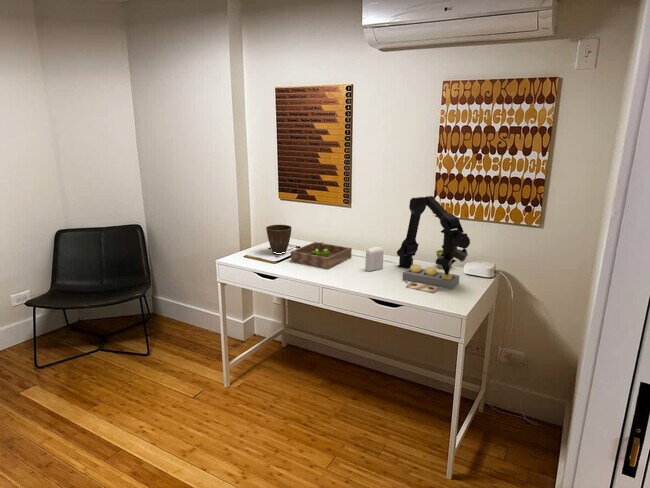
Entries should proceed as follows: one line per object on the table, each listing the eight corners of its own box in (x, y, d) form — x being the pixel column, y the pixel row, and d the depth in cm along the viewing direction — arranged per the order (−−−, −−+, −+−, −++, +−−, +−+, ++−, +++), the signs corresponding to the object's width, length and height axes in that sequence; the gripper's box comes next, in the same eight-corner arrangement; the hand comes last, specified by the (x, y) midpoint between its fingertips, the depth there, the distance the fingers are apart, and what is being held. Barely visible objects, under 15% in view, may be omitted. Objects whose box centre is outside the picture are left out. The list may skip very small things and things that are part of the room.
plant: (308, 267, 249) (308, 247, 246) (300, 257, 267) (300, 238, 264) (343, 264, 254) (343, 244, 251) (333, 254, 272) (333, 236, 269)
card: (405, 287, 217) (405, 285, 217) (412, 282, 224) (412, 281, 224) (433, 293, 210) (434, 291, 210) (439, 288, 217) (439, 286, 216)
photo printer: (378, 266, 248) (379, 244, 245) (384, 268, 245) (385, 246, 242) (364, 270, 243) (364, 247, 240) (369, 272, 239) (369, 249, 236)
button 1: (408, 274, 228) (409, 266, 227) (412, 271, 232) (413, 264, 231) (418, 276, 226) (418, 268, 225) (421, 273, 230) (422, 265, 229)
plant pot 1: (295, 251, 277) (295, 225, 273) (286, 258, 264) (285, 231, 259) (273, 249, 282) (272, 223, 278) (262, 255, 268) (261, 229, 264)
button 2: (424, 277, 224) (424, 269, 223) (427, 274, 228) (428, 266, 227) (433, 279, 222) (434, 271, 221) (437, 276, 226) (437, 268, 225)
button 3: (439, 283, 220) (440, 275, 219) (443, 280, 225) (443, 272, 224) (449, 285, 218) (450, 277, 217) (453, 282, 222) (453, 274, 221)
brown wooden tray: (290, 261, 257) (290, 251, 255) (315, 251, 277) (315, 241, 275) (328, 269, 244) (328, 258, 242) (351, 258, 264) (351, 248, 262)
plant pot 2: (440, 270, 242) (441, 255, 240) (431, 265, 251) (432, 250, 249) (455, 269, 245) (457, 253, 242) (446, 264, 253) (448, 249, 251)
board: (402, 280, 228) (402, 272, 227) (410, 274, 237) (411, 266, 236) (451, 289, 215) (452, 281, 214) (458, 283, 224) (459, 275, 223)
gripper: (460, 250, 204) (457, 283, 208) (472, 241, 219) (469, 272, 224) (436, 246, 210) (434, 278, 214) (449, 238, 225) (447, 268, 229)
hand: (447, 274), depth 220 cm, fingers closed
